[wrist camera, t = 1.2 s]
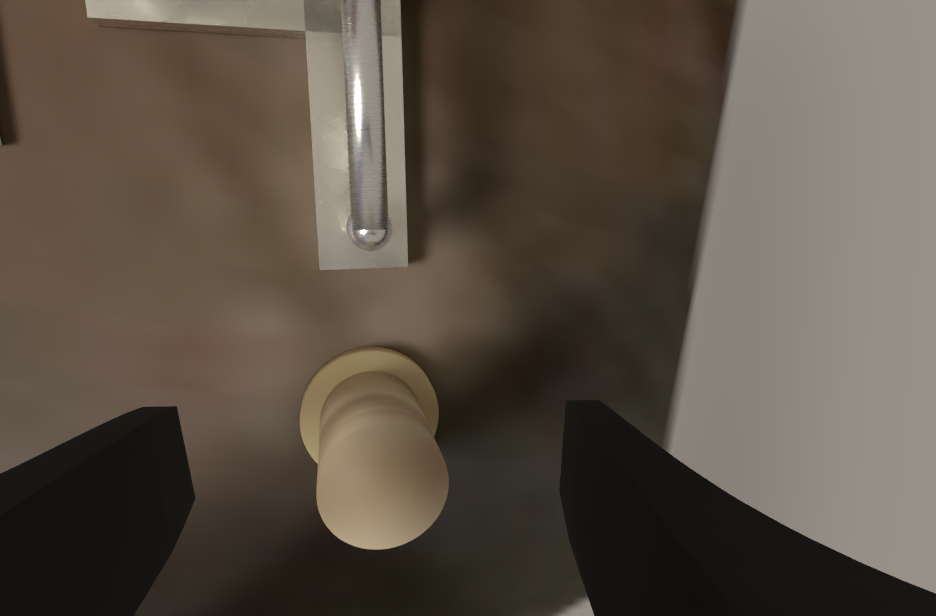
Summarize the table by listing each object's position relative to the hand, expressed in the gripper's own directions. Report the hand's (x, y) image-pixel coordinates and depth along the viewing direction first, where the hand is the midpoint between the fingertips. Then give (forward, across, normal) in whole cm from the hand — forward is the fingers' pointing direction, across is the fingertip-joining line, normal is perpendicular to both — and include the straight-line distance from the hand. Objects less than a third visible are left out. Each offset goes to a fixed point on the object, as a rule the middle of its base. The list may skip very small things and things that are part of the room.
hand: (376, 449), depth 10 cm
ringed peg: (+10, +2, +5) cm, 11 cm away
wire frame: (+10, +5, -6) cm, 13 cm away
